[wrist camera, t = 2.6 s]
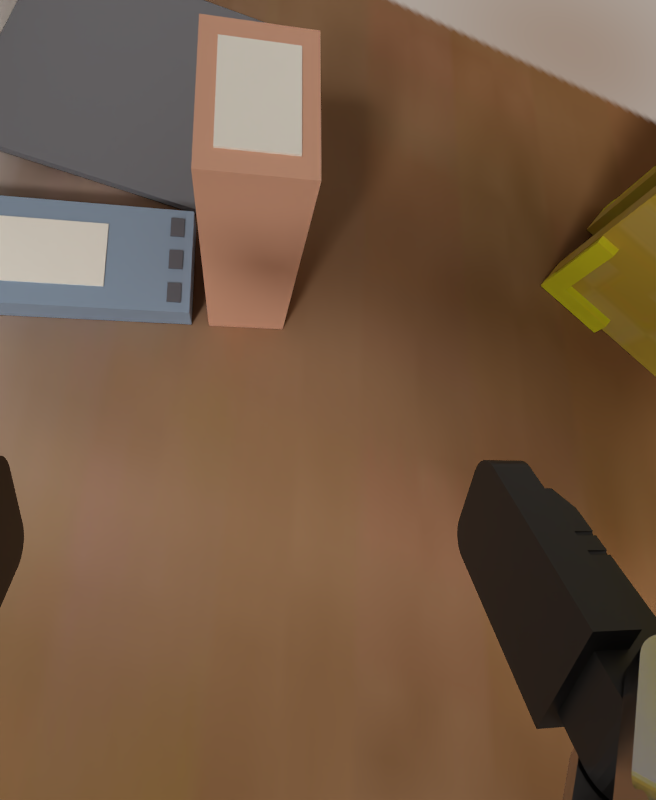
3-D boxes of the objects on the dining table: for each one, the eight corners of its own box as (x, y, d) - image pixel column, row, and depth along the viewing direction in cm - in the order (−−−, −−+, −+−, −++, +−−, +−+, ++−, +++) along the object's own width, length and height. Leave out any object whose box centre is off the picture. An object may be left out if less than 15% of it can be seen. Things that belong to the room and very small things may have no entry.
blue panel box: (-92, 310, 24) (-114, 295, 22) (-75, 207, 25) (-94, 186, 24) (191, 324, 26) (189, 311, 24) (196, 228, 27) (194, 210, 26)
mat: (-46, 136, 26) (-50, 130, 26) (49, -50, 29) (47, -57, 29) (202, 215, 27) (202, 211, 27) (269, 30, 30) (269, 24, 30)
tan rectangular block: (207, 325, 26) (187, 166, 15) (211, 229, 27) (196, 10, 16) (282, 329, 27) (321, 179, 15) (283, 235, 28) (320, 28, 16)
